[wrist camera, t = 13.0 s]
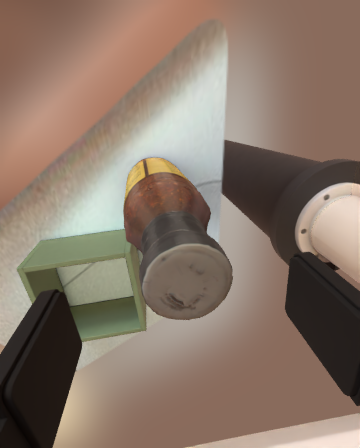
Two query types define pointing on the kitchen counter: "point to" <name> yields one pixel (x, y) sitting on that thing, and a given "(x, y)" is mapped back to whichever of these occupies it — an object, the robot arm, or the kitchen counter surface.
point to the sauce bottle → (174, 242)
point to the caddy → (80, 254)
